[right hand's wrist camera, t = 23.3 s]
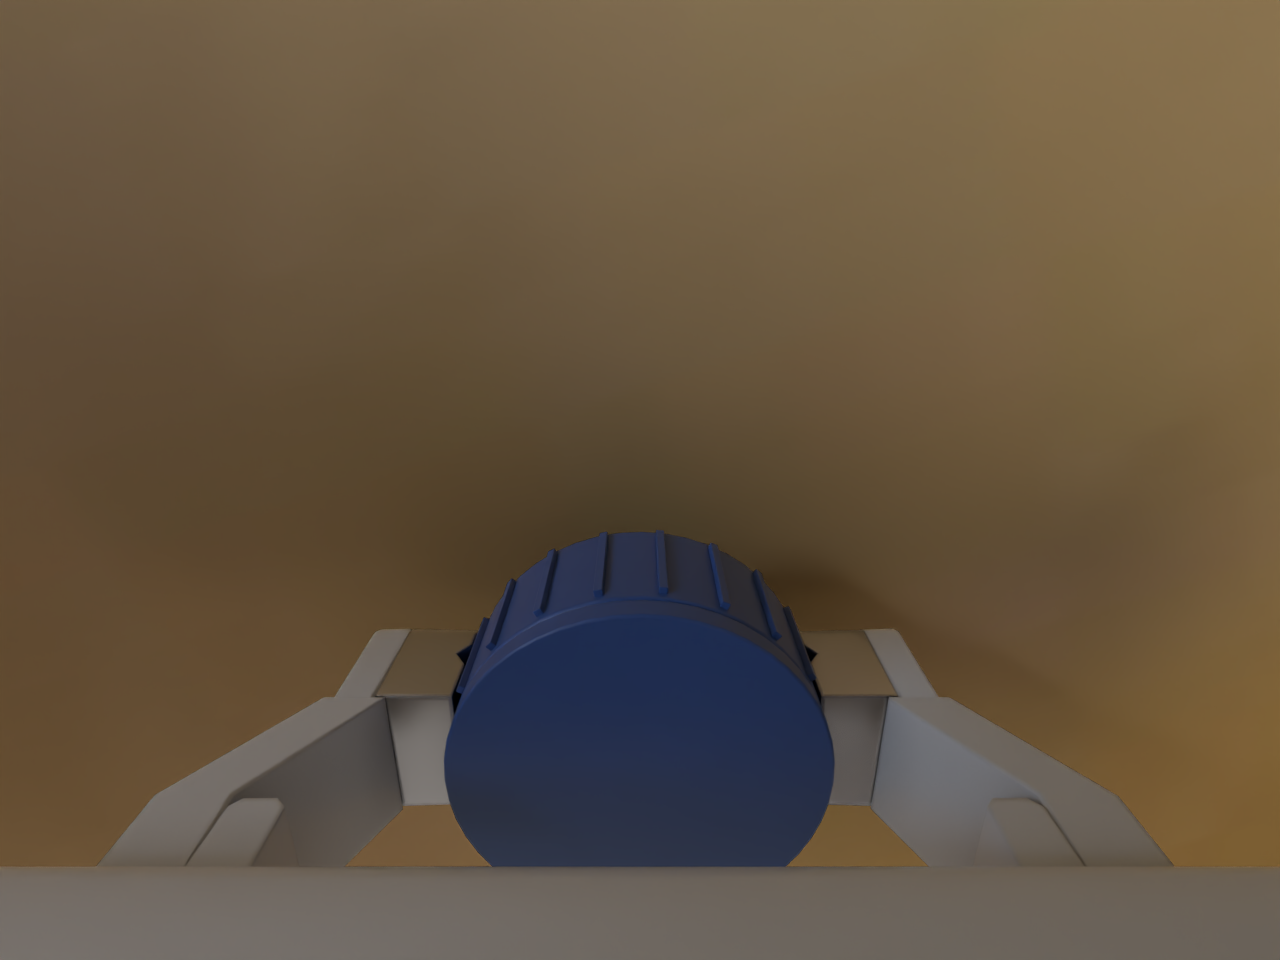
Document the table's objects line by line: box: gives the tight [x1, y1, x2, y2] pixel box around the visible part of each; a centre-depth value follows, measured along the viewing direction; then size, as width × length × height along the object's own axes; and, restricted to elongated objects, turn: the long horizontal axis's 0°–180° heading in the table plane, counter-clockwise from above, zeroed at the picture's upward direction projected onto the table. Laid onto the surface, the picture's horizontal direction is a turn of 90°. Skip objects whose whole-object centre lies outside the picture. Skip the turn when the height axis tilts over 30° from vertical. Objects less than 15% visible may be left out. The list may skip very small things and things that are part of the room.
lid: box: [444, 530, 835, 867], centre depth 10 cm, size 5×5×2 cm
